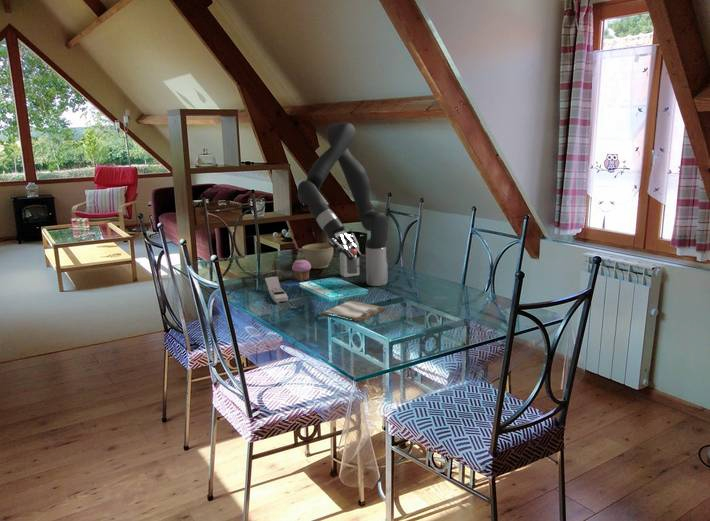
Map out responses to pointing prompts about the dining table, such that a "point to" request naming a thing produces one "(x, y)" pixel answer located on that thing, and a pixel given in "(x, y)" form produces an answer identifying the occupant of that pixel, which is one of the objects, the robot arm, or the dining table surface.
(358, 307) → the clipboard
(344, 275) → the skincare box
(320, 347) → the dining table surface
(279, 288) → the mobile phone
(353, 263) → the grey and red cylinder
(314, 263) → the planter bowl
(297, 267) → the cupcake
